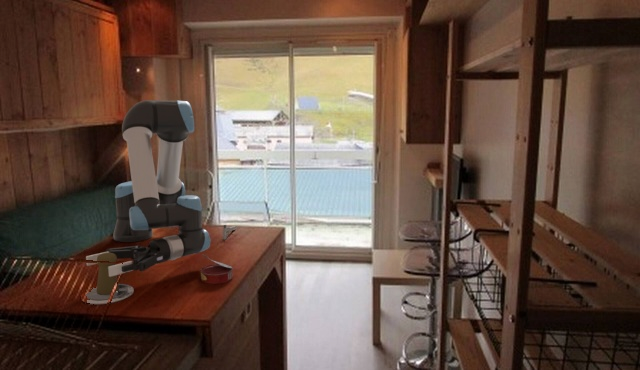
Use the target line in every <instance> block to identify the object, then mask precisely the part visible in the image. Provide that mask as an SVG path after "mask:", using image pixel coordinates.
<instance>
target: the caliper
mask: <svg viewBox="0 0 640 370" xmlns="http://www.w3.org/2000/svg"><path fill="white" fill-rule="evenodd" d="M237 228H238V227H237V225H233V226H228V225H227V224H223V228H222V240H223V241H227V239H228V234H230V232H231V231H235V230H237Z"/></svg>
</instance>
